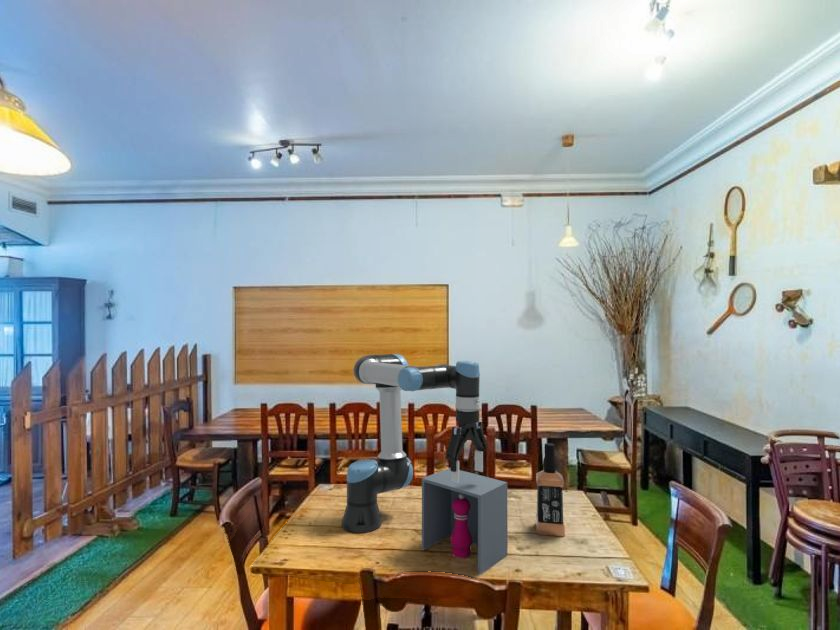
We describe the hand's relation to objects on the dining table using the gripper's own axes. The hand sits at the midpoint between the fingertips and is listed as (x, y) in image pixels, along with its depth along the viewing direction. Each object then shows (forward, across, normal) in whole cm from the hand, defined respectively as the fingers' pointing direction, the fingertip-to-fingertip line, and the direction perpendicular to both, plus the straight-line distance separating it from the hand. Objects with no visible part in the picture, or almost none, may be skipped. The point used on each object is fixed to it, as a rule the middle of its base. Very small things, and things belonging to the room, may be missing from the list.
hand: (467, 476), depth 146 cm
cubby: (+28, +6, +6) cm, 29 cm away
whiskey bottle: (+28, +42, -9) cm, 51 cm away
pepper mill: (+28, +5, +6) cm, 29 cm away
